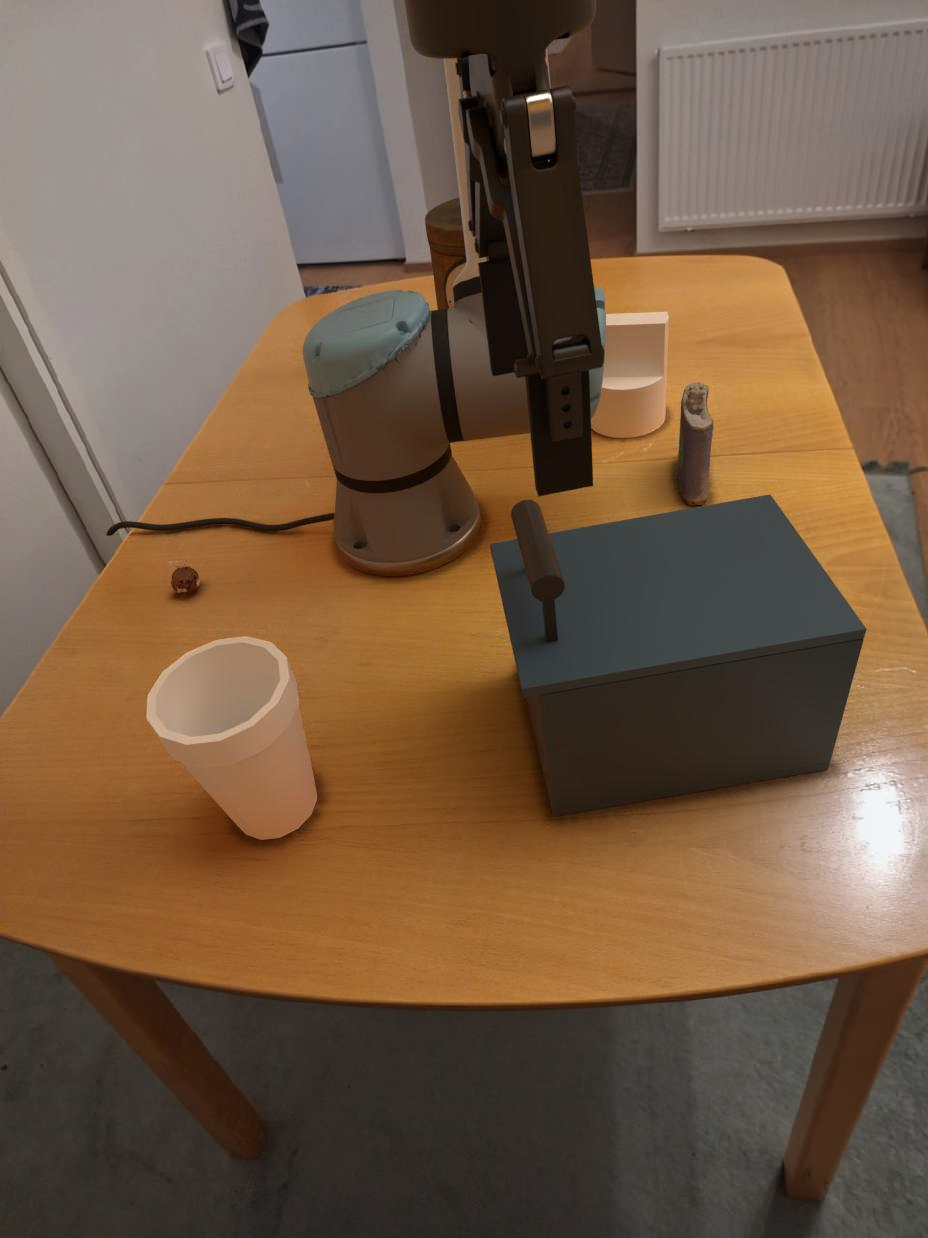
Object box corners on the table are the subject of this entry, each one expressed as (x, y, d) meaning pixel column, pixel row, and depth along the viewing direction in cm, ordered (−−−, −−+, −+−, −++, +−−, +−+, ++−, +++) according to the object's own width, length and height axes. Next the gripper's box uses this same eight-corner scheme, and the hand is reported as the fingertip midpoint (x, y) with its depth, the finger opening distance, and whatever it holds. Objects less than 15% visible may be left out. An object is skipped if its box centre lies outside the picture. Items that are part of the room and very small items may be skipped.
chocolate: (171, 601, 81) (156, 571, 79) (177, 587, 83) (162, 557, 80) (200, 598, 81) (185, 568, 78) (205, 584, 83) (191, 553, 80)
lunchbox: (553, 817, 57) (539, 695, 48) (520, 670, 68) (504, 550, 59) (828, 769, 56) (864, 639, 48) (751, 630, 67) (769, 503, 59)
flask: (708, 506, 81) (716, 409, 74) (678, 507, 81) (682, 410, 74) (702, 457, 87) (708, 363, 80) (674, 458, 88) (678, 365, 81)
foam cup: (342, 747, 64) (298, 629, 55) (332, 850, 57) (279, 733, 48) (226, 761, 65) (164, 646, 56) (202, 864, 58) (127, 751, 49)
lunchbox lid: (523, 697, 48) (512, 621, 44) (491, 551, 59) (480, 479, 55) (864, 638, 48) (887, 555, 44) (769, 503, 59) (779, 426, 55)
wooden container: (463, 377, 109) (437, 202, 94) (432, 338, 120) (405, 176, 105) (563, 349, 111) (554, 173, 97) (524, 313, 122) (510, 151, 107)
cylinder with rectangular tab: (583, 437, 93) (578, 338, 85) (592, 399, 100) (589, 303, 92) (662, 438, 91) (666, 335, 83) (667, 399, 97) (671, 300, 89)
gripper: (376, -72, 40) (443, 344, 54) (428, -59, 21) (509, 572, 35) (526, -100, 40) (553, 322, 54) (711, -112, 21) (678, 539, 35)
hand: (536, 422), depth 44 cm, fingers open, 13 cm apart
